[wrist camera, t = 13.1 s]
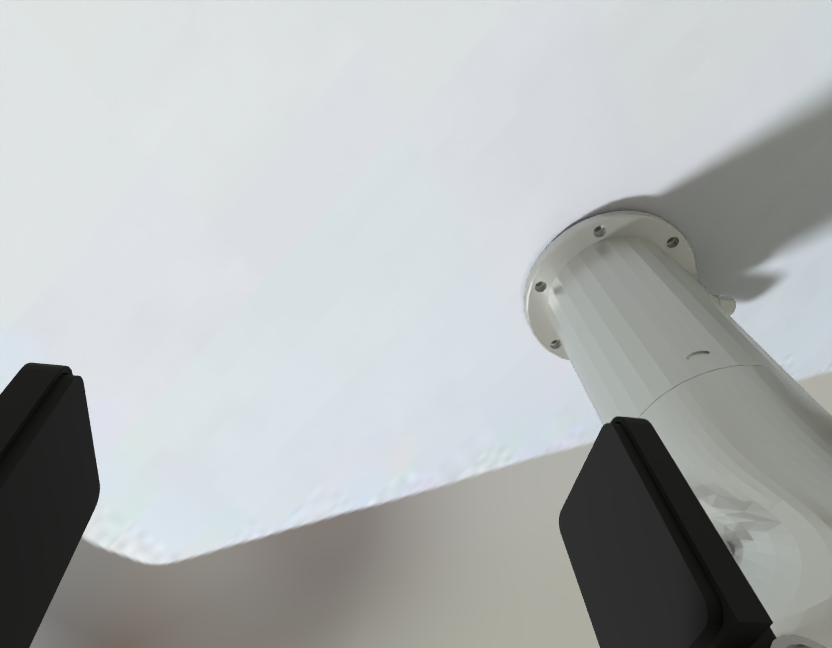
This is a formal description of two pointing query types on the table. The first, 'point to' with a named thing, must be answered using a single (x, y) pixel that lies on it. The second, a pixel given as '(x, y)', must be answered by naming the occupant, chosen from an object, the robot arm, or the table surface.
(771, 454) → the robot arm
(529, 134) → the table surface
